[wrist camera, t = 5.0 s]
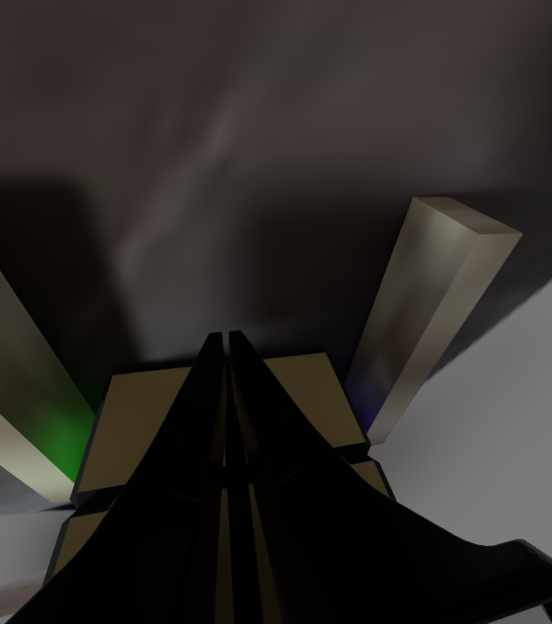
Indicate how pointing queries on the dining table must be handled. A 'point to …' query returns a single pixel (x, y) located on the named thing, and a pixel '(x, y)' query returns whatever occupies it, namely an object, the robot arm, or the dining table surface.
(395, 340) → the lane rails
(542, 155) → the dining table surface
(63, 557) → the puzzle cube
